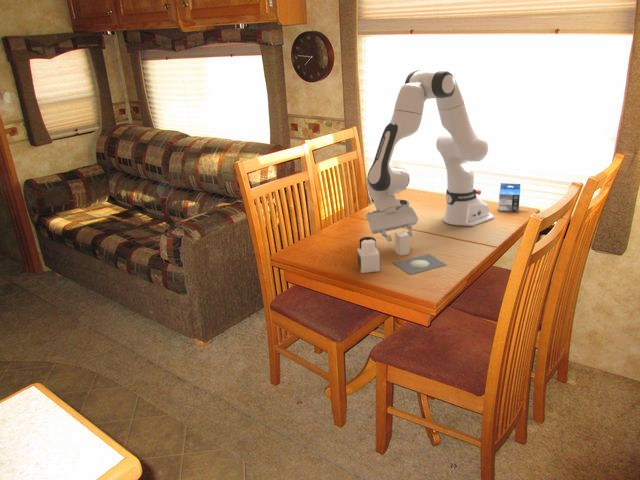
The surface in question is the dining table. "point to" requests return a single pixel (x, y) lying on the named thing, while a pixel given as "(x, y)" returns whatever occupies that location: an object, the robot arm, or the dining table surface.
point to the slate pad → (419, 264)
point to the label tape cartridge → (509, 197)
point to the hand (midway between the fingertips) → (400, 238)
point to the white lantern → (368, 255)
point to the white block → (402, 243)
